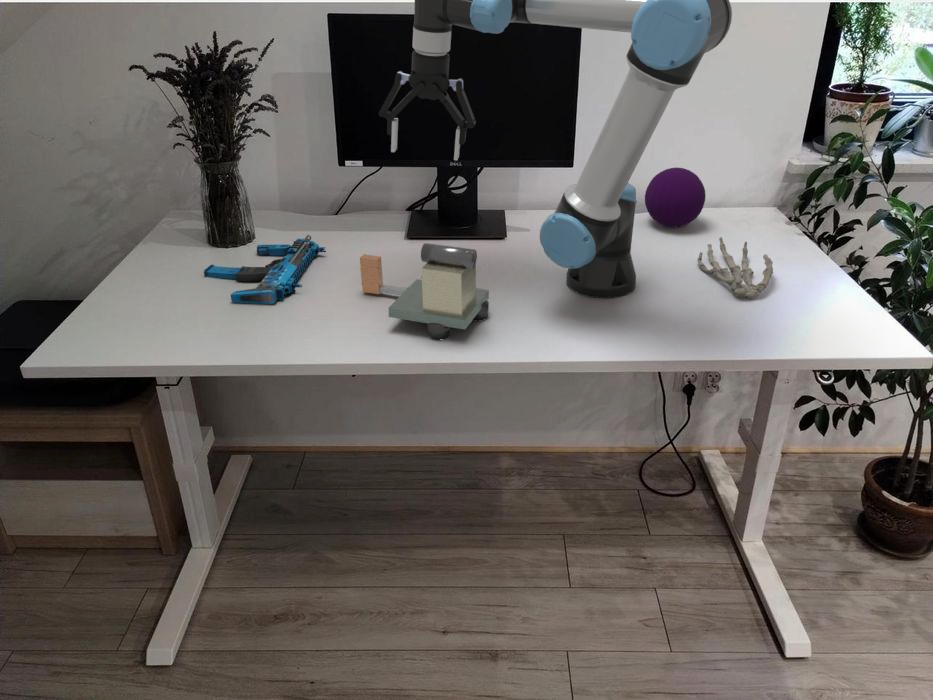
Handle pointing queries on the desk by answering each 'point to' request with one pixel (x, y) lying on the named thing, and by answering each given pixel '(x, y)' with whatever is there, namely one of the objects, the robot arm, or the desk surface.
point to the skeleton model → (737, 272)
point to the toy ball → (675, 197)
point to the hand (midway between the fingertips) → (425, 154)
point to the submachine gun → (271, 272)
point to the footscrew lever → (375, 277)
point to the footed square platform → (444, 292)
